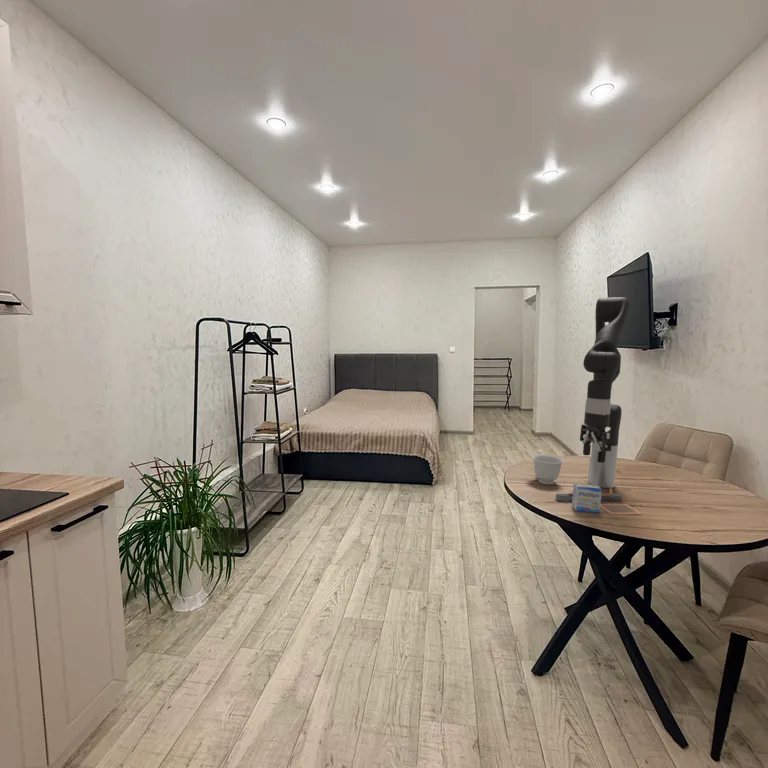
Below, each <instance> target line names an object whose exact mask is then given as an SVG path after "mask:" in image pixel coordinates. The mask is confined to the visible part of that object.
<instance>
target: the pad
mask: <svg viewBox="0 0 768 768" xmlns="http://www.w3.org/2000/svg"><path fill="white" fill-rule="evenodd" d="M600 509H602V510H603V511H605V512H606V513H607V514H609V515H643V513H642V512H640V511H639V510H637V509H635V508H634V507H632V506H631V505H629V504H627V503H625V504H624V503H623V504H622V503H601V504H600Z"/></svg>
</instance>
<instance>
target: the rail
mask: <svg viewBox="0 0 768 768" xmlns="http://www.w3.org/2000/svg"><path fill="white" fill-rule="evenodd" d="M608 492H609V493H601V502H623V499H622V498H623V495H621V494H620V493H613V488H609V491H608ZM555 500H556V501H558V502H572V501H573V493H555Z"/></svg>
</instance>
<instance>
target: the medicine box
mask: <svg viewBox="0 0 768 768" xmlns="http://www.w3.org/2000/svg"><path fill="white" fill-rule="evenodd" d="M572 487H573V488H572V489H573V490H572V494H573V501H571V506H572V508H573V510H575V512H579V513H580V512H582V513H594V514H600V512H601V507H600V504H602V503H601V502H602V501H601V494H603V493H602V491H603V490H602V489H603V488H602V487H599V486H598V485H592V484H590V483H589V484H588V483H577V482H576V483H575V482H574V483H573V486H572Z"/></svg>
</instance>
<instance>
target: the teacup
mask: <svg viewBox="0 0 768 768" xmlns="http://www.w3.org/2000/svg"><path fill="white" fill-rule="evenodd" d="M531 458H532V460H533V464H534V465H533V469H534V474H535V477H536V478H537V479H538V482H539V483H540V482H541V483H540V484H542V485H549V484H550V485H554V481H557V479H558V478H559V477H560V472H561V468H562V467H561V466H562V464H564V459H563V458H561V457H558V456H555V455H552V454H551V455H550V454H543V453H539V454H535V455H533V456H532V457H531Z"/></svg>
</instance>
